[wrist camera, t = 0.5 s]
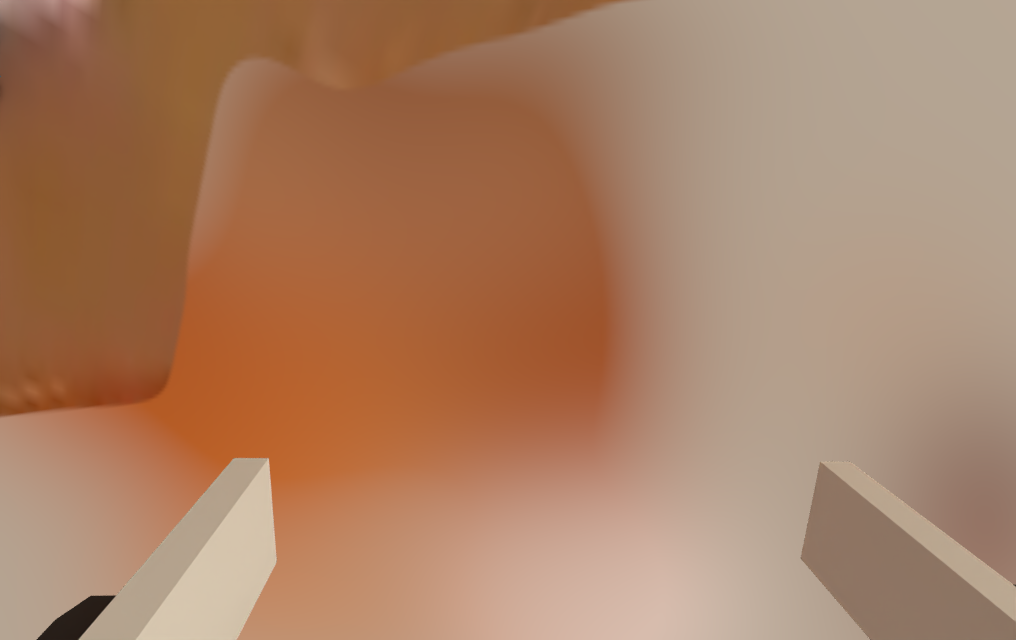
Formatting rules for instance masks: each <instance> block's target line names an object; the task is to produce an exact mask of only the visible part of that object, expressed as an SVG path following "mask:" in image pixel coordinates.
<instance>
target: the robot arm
mask: <svg viewBox="0 0 1016 640" xmlns="http://www.w3.org/2000/svg"><path fill="white" fill-rule="evenodd" d="M801 559H802V561H803V562H804V563H805V564H806V565H807V566H808V568H809V569H810V570H811V571H812V572H813V573H814V575H815V576H816V577H817V578H818V579H819V580H820V582H821V583H822V584H823V585H824V586H825V587H826V589H827V590H828V591H829V592H830V593H831V594H832V596H833V597H834V598H835V599H836V600H837V601H838V602H839V604H840V605H841V606H842V607H843V608H844V609H845V611H846V612H847V613H848V614H849V615H850V616H851V618H852V619H853V620H854V621H855V622H856V623H857V625H858V626H859V627H860V628H861V629H862V630H863V632H864V633H865V634H866V635H867V636H868V637H869V639H870V640H1016V585H1014V584H1011V583H1010V582H1009V581H1008V580H1006V579H1005V578H1004V577H1002V576H1001V575H1000V574H998V573H997V572H995V571H994V570H993V569H992V568H990V567H989V566H988V565H986V564H985V563H984V562H982V561H981V560H979V559H978V558H977V557H975V556H974V555H973V554H972V553H970V552H969V551H968V550H966V549H965V548H964V547H962V546H961V545H960V544H958V543H957V542H956V541H955V540H953V539H952V538H951V537H949V536H948V535H947V534H945V533H944V532H943V531H941V530H940V529H938V528H937V527H936V526H935V525H933V524H932V523H931V522H929V521H928V520H927V519H925V518H924V517H923V516H921V515H920V514H919V513H917V512H916V511H915V510H913V509H912V508H911V507H909V506H908V505H907V504H905V503H904V502H903V501H901V500H900V499H899V498H897V497H896V496H895V495H893V494H892V493H891V492H890V491H888V490H887V489H886V488H884V487H883V486H882V485H880V484H879V483H878V482H876V481H875V480H873V479H872V478H871V477H870V476H868V475H867V474H866V473H864V472H863V471H862V470H860V469H859V468H858V467H856V466H855V465H854V464H852V463H851V462H820V465H819V470H818V475H817V480H816V485H815V490H814V495H813V500H812V505H811V510H810V515H809V519H808V524H807V530H806V535H805V539H804V545H803V549H802V555H801ZM276 562H277V560H276V548H275V534H274V522H273V509H272V495H271V482H270V469H269V459H268V458H234V459H233V460H232V461H231V462H230V464H229V465H228V466H227V467H226V468H225V469H224V470H223V472H222V473H221V474H220V475H219V476H218V478H217V479H216V480H215V481H214V482H213V483H212V484H211V486H210V487H209V488H208V489H207V490H206V492H205V493H204V494H203V495H202V496H201V497H200V498H199V500H198V501H197V502H196V503H195V504H194V506H193V507H192V508H191V509H190V510H189V512H187V514H186V515H185V516H184V517H183V518H182V519H181V521H180V522H179V523H178V524H177V525H176V526H175V528H174V529H173V530H172V531H171V532H170V534H169V535H168V536H167V537H166V538H165V539H164V540H163V542H162V543H161V544H160V545H159V546H158V547H157V549H156V550H155V551H154V552H153V553H152V555H151V556H150V557H149V558H148V559H147V560H146V562H145V563H144V564H143V565H142V566H141V567H140V568H139V570H138V571H137V572H136V573H135V574H134V575H133V577H132V578H131V579H130V580H129V581H128V582H127V584H126V585H125V586H124V587H123V589H121V591H120V592H119V593H118V594H117V595H116V596H90V597H88V598H87V599H86V600H84V601H82V602H81V603H80V604H78V605H77V606H75V607H74V608H72V609H71V610H69V611H68V612H66V613H65V614H64V615H62V616H60V617H59V618H57V619H56V620H55V621H54V622H53V623H52V624H51V625H50V626H49V627H48V628H47V629H46V630H45V631H44V633H42V635H41V636H40V637H39V638H38V639H37V640H237V638H238V636H239V634H240V632H241V630H242V628H243V626H244V624H245V622H246V620H247V619H248V617H249V615H250V613H251V611H252V609H253V607H254V605H255V603H256V601H257V599H258V597H259V595H260V593H261V591H262V589H263V587H264V585H265V583H266V582H267V580H268V577H269V575H270V574H271V572H272V570H273V568H274V566H275V564H276Z"/></svg>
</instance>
